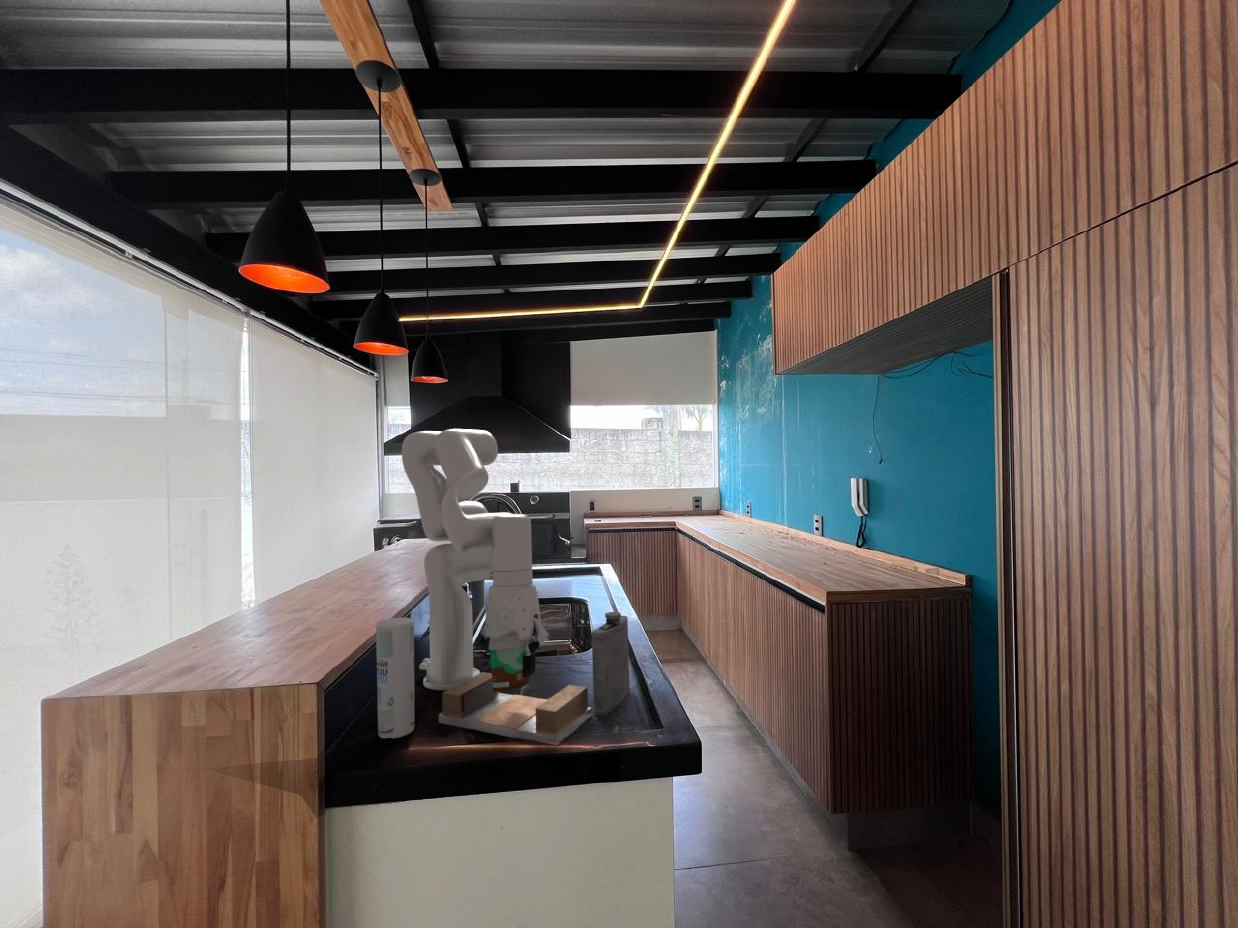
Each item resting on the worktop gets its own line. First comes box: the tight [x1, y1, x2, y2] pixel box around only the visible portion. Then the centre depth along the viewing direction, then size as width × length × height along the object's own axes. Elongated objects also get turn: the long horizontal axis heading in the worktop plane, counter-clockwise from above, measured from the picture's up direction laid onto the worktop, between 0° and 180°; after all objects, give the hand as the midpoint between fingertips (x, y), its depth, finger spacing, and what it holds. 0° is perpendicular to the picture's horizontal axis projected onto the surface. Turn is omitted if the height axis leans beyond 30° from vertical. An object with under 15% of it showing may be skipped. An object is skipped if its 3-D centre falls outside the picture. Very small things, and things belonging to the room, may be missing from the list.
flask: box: [591, 611, 631, 717], centre depth 111 cm, size 4×14×18 cm, turn 158°
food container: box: [488, 635, 536, 693], centre depth 103 cm, size 12×6×10 cm, turn 168°
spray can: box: [375, 617, 415, 740], centre depth 100 cm, size 6×6×20 cm
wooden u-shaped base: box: [438, 671, 592, 743], centre depth 103 cm, size 26×13×6 cm, turn 66°
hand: (515, 672), depth 103 cm, fingers closed on food container, 5 cm apart
